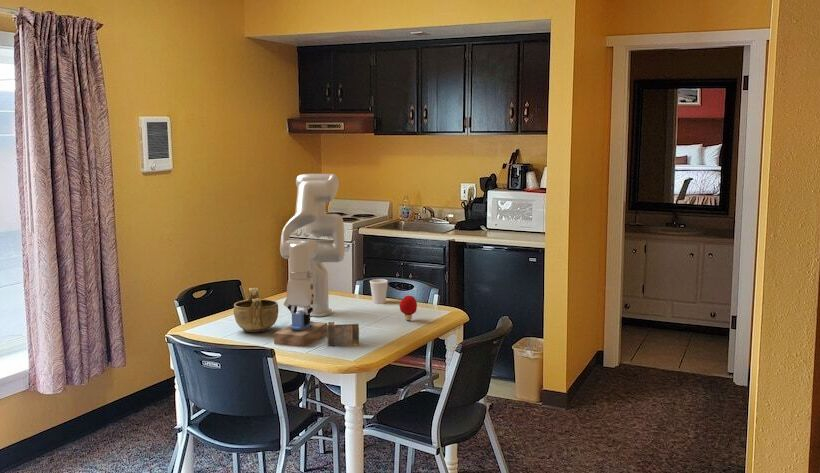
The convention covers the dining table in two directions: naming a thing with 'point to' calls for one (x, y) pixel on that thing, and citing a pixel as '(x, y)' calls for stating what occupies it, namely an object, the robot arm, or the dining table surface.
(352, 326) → the ruin model on sheet
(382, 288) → the dixie cup
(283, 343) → the brown wooden flat block
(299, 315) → the servo
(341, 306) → the dining table surface
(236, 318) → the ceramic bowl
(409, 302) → the light bulb
